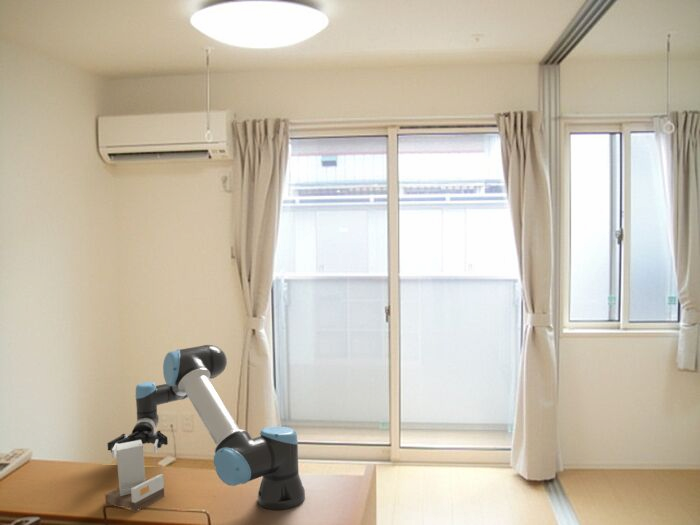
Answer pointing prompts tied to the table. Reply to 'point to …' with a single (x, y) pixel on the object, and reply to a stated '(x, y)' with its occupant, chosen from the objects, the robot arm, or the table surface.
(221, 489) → the table surface
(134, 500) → the square wooden base
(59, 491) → the table surface
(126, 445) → the skincare box
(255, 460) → the robot arm
